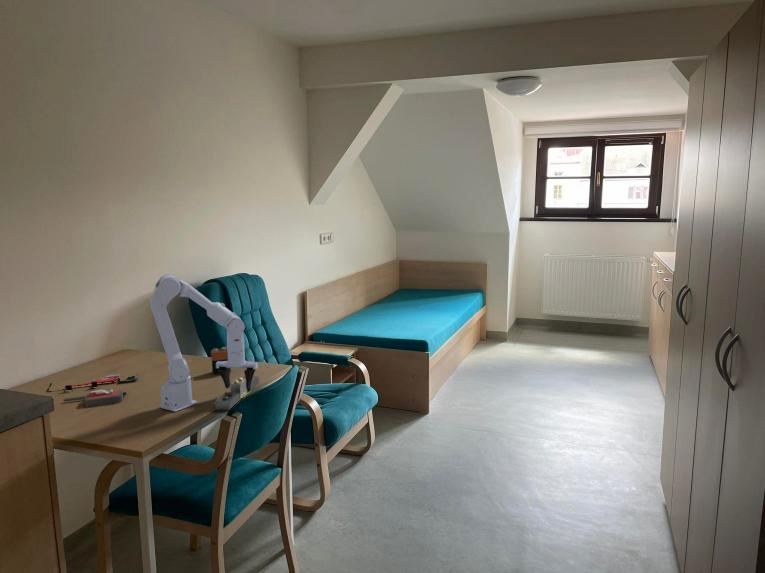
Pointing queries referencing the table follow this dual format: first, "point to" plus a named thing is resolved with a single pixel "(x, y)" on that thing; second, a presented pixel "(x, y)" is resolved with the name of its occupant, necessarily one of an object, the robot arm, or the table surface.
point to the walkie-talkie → (100, 397)
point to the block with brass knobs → (239, 386)
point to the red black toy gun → (103, 381)
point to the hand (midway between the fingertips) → (238, 387)
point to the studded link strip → (233, 396)
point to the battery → (218, 357)
